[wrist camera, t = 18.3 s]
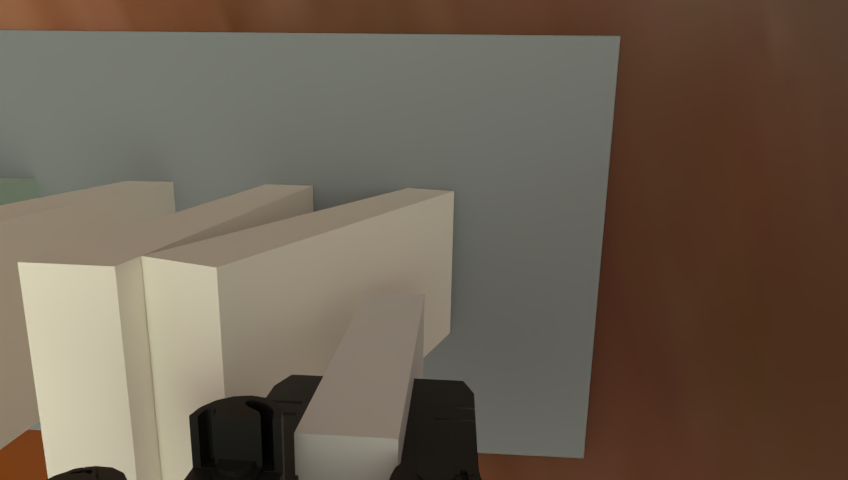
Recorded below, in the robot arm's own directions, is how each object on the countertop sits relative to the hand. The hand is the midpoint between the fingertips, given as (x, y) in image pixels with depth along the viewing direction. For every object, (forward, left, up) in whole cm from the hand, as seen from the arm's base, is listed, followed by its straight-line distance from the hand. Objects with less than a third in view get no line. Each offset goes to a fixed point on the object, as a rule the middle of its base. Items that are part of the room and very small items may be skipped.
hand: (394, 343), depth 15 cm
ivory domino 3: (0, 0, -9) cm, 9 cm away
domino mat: (0, +11, -10) cm, 15 cm away
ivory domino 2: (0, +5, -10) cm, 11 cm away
